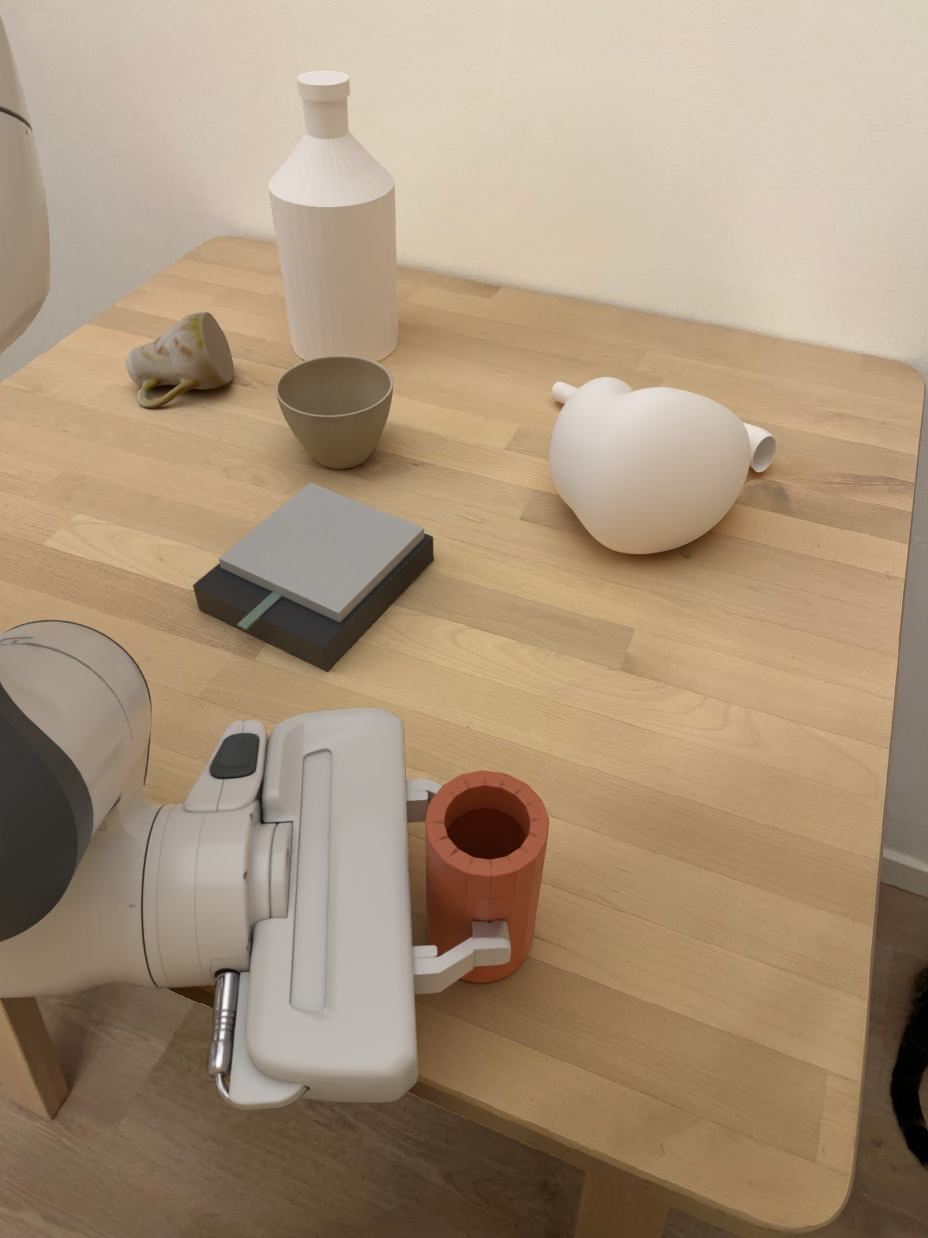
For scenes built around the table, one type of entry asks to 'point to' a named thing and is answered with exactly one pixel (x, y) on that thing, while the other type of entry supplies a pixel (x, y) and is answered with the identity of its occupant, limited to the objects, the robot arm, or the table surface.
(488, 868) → the jar
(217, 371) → the mug
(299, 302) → the bottle
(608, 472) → the stomach
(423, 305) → the table surface
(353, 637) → the scale
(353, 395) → the olive grey bowl
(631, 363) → the table surface
